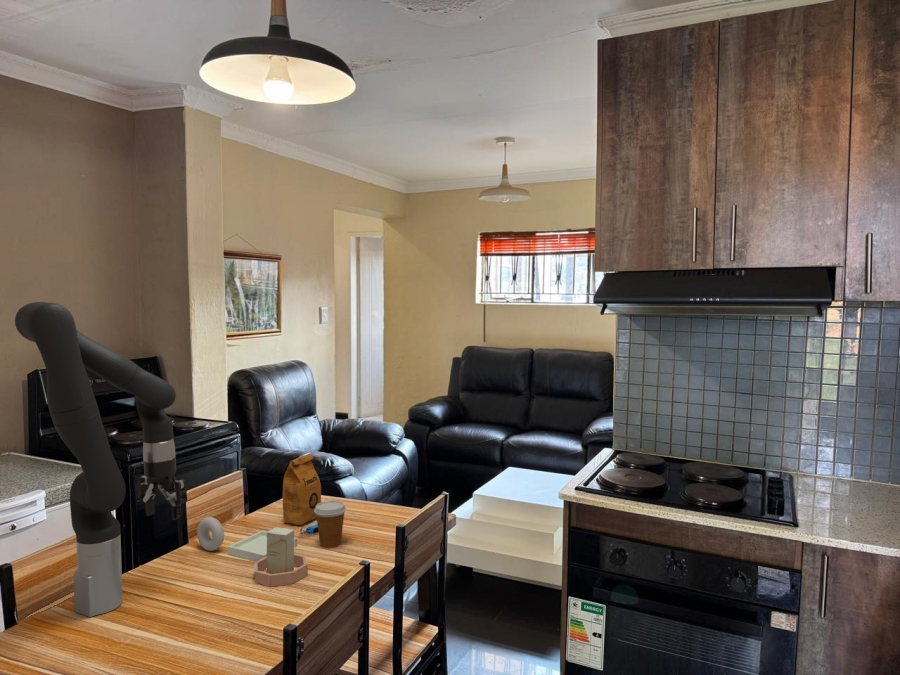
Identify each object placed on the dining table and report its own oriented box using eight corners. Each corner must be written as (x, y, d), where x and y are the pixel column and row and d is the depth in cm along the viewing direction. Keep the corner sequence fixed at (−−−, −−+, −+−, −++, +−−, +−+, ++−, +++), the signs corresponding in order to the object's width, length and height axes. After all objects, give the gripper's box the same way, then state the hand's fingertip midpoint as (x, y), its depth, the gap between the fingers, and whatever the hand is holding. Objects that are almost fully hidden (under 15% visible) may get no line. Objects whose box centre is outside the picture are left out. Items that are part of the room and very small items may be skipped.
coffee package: (326, 517, 207) (325, 454, 206) (301, 528, 197) (300, 462, 195) (304, 512, 212) (303, 451, 211) (278, 523, 201) (277, 458, 200)
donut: (227, 551, 178) (226, 518, 178) (217, 555, 175) (216, 522, 175) (204, 545, 183) (203, 512, 183) (194, 549, 180) (194, 516, 180)
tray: (263, 563, 170) (263, 555, 170) (227, 554, 176) (227, 546, 176) (297, 545, 182) (297, 538, 182) (262, 537, 189) (262, 530, 189)
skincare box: (266, 576, 162) (265, 532, 161) (275, 569, 166) (274, 526, 166) (286, 579, 160) (285, 534, 160) (295, 572, 165) (294, 529, 164)
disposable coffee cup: (342, 550, 179) (342, 510, 179) (311, 549, 180) (310, 510, 179) (348, 537, 189) (348, 500, 188) (318, 537, 189) (318, 500, 188)
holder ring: (282, 590, 154) (282, 578, 154) (243, 579, 160) (243, 568, 160) (316, 569, 166) (316, 558, 166) (279, 560, 172) (279, 549, 172)
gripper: (126, 458, 155) (131, 519, 156) (170, 463, 150) (174, 525, 152) (149, 450, 162) (153, 508, 163) (192, 454, 157) (195, 514, 159)
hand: (163, 516), depth 158 cm, fingers open, 8 cm apart
